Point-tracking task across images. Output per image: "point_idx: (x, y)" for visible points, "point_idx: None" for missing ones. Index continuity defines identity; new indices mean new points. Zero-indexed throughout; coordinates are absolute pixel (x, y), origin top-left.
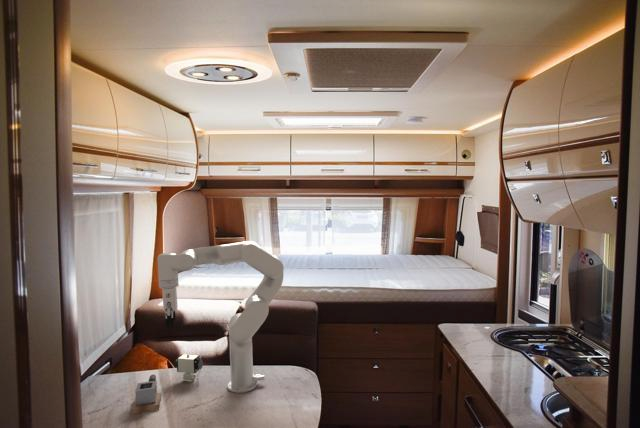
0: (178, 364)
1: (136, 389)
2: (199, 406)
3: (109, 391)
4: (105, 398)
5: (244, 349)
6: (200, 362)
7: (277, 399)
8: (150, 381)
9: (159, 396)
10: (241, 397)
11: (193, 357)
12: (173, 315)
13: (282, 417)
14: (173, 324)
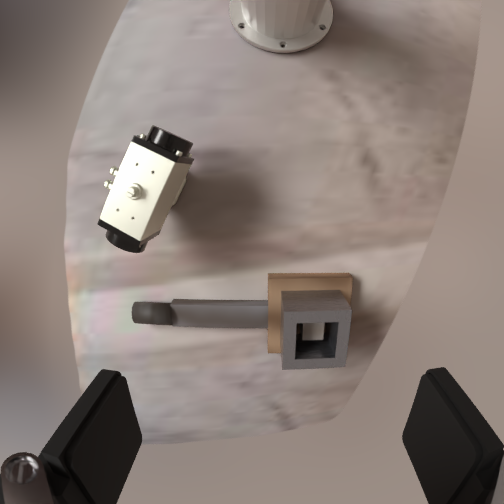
0: (151, 233)
1: (331, 366)
2: (377, 150)
3: (183, 407)
4: (222, 412)
5: None
6: (171, 133)
7: None
8: (284, 331)
9: (297, 282)
10: (357, 26)
11: (149, 164)
12: (102, 429)
13: None
14: (455, 389)
